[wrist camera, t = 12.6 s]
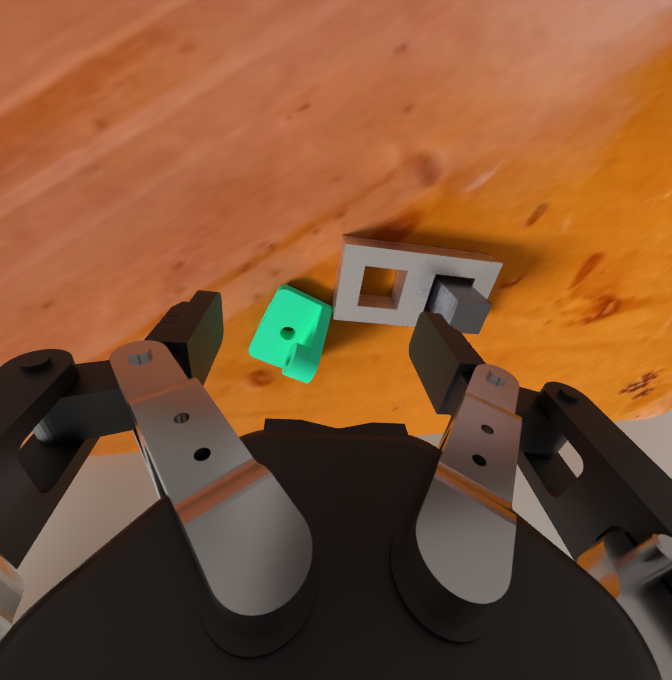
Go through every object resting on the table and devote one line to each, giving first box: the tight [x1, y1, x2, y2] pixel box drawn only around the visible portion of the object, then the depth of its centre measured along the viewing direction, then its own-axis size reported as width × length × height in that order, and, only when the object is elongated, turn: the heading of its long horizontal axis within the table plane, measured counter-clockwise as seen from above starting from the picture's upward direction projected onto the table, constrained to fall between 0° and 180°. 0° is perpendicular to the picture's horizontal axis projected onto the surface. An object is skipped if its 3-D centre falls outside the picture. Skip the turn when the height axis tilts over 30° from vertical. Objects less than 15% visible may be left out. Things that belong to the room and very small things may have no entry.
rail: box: [332, 235, 503, 327], centre depth 40 cm, size 10×20×4 cm, turn 82°
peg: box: [426, 274, 492, 334], centre depth 38 cm, size 4×4×10 cm
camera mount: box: [249, 285, 332, 383], centre depth 40 cm, size 12×8×10 cm, turn 150°
